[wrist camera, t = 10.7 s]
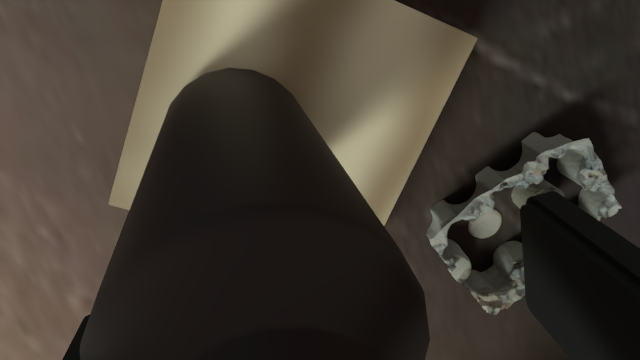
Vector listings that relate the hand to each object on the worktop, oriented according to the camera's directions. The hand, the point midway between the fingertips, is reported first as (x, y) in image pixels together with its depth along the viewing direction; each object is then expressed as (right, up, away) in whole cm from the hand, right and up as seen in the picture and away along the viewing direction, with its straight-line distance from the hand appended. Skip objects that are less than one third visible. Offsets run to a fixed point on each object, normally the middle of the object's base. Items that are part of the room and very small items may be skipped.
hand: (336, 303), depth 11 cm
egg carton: (+11, +1, +20) cm, 23 cm away
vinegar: (-4, +5, +12) cm, 14 cm away
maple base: (-2, +7, +15) cm, 16 cm away
